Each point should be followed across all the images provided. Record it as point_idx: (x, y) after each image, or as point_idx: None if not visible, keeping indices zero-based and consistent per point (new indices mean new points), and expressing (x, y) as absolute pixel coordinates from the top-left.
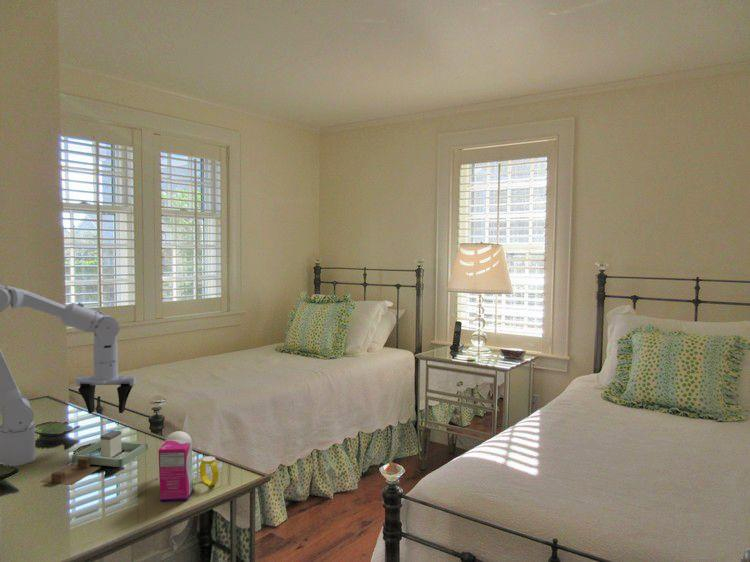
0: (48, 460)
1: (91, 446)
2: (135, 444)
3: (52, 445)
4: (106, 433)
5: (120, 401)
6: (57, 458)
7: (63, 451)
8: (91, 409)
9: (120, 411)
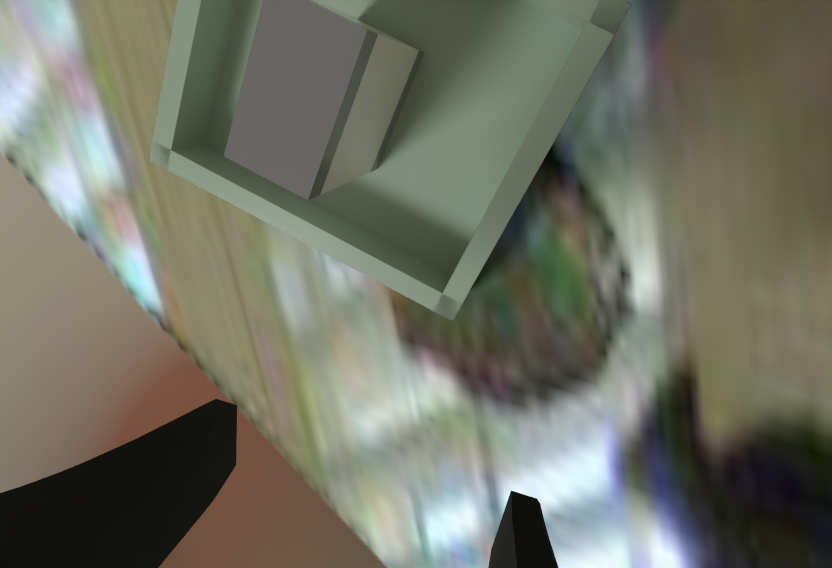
0: (805, 177)
1: (501, 198)
2: (222, 175)
3: (780, 452)
4: (330, 109)
5: (109, 474)
6: (738, 202)
7: (701, 326)
8: (506, 531)
9: (211, 407)
